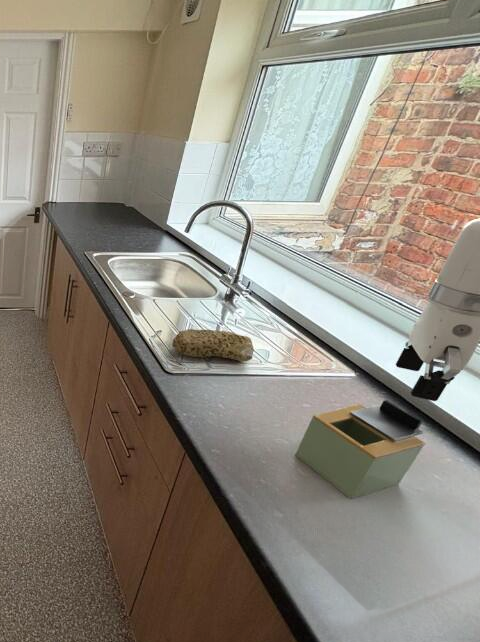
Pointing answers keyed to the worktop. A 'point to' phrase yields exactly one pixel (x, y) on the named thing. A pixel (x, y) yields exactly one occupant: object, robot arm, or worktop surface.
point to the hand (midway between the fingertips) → (414, 382)
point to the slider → (390, 420)
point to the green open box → (355, 453)
